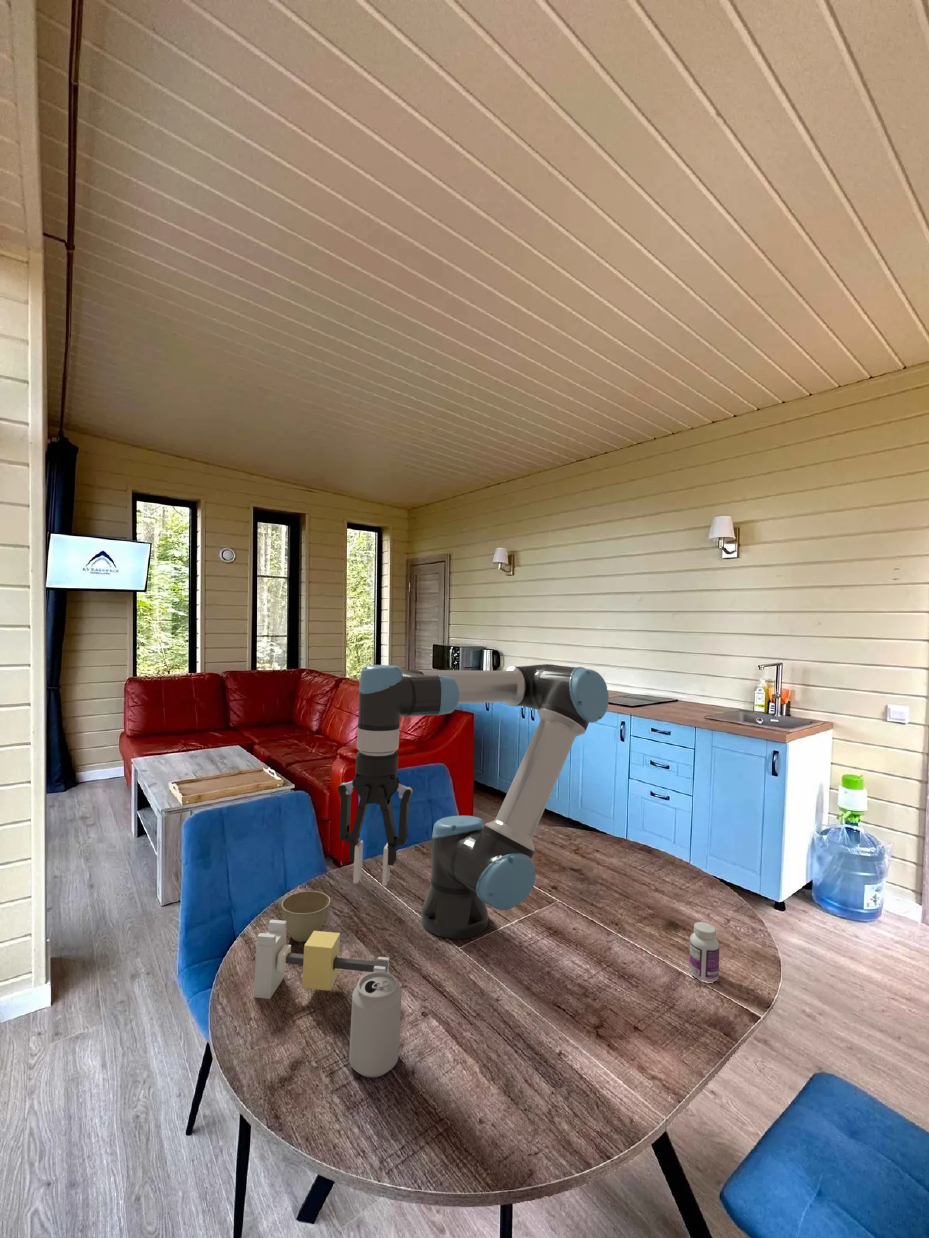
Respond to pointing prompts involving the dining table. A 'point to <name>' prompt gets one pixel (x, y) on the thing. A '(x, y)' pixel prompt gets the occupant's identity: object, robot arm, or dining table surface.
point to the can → (375, 1024)
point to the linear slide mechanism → (292, 960)
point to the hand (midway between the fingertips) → (371, 880)
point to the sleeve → (320, 960)
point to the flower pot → (305, 913)
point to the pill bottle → (704, 952)
